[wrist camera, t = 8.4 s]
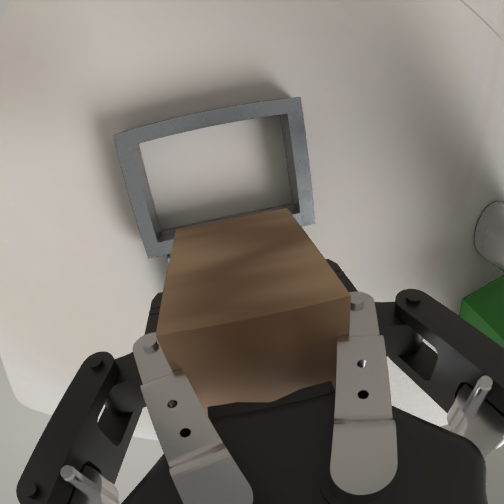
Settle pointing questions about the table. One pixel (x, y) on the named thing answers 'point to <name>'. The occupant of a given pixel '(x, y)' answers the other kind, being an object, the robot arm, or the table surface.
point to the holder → (286, 108)
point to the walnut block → (251, 309)
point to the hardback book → (486, 310)
